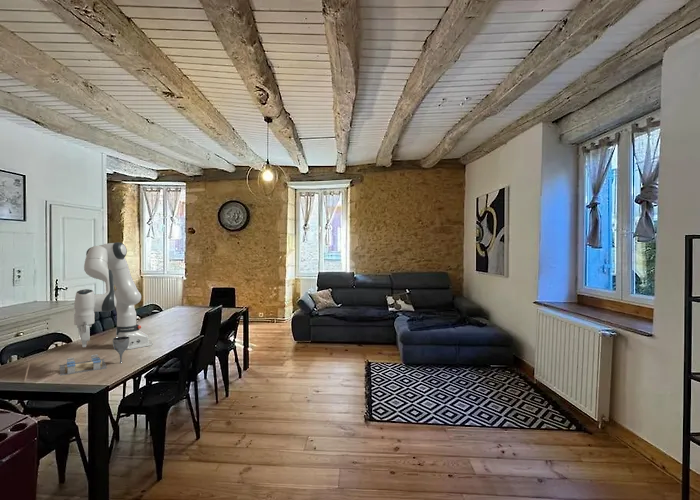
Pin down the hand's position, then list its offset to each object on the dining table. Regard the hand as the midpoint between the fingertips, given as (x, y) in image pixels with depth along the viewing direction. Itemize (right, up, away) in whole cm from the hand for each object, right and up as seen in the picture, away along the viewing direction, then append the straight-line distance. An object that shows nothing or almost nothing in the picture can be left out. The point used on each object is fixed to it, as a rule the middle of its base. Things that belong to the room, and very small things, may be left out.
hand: (84, 346), depth 198 cm
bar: (0, -12, 0) cm, 12 cm away
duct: (-4, -13, +4) cm, 14 cm away
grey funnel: (+12, -14, +12) cm, 22 cm away
